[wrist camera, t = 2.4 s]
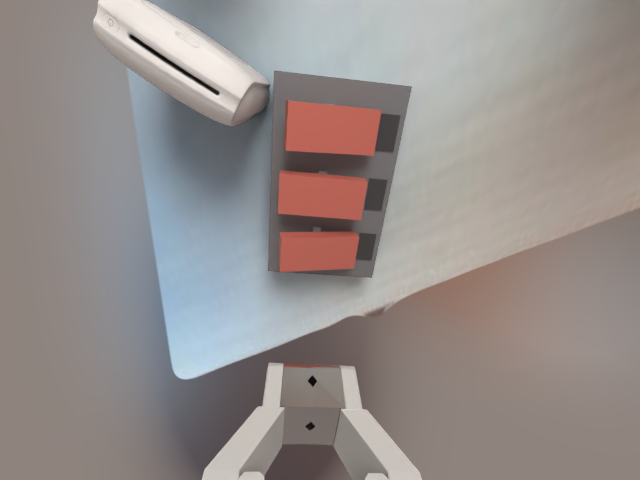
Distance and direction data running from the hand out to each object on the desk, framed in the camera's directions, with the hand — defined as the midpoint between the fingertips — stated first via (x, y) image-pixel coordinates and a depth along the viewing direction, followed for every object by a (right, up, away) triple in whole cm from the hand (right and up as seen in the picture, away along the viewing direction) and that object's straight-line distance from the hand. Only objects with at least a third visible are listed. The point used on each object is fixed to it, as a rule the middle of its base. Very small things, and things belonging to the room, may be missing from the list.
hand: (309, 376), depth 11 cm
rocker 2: (0, +10, +19) cm, 21 cm away
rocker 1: (+1, +15, +17) cm, 22 cm away
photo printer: (-9, +21, +19) cm, 30 cm away
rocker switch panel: (+1, +12, +23) cm, 26 cm away
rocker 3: (0, +4, +22) cm, 22 cm away
